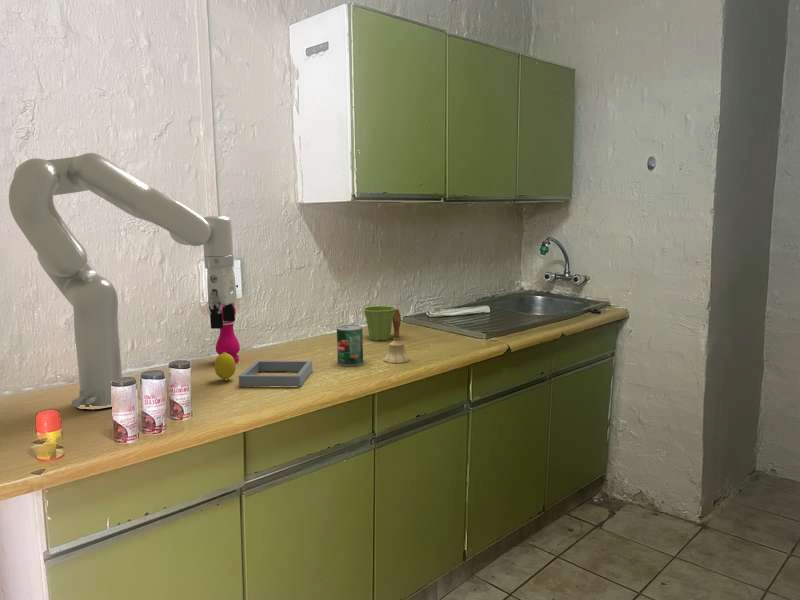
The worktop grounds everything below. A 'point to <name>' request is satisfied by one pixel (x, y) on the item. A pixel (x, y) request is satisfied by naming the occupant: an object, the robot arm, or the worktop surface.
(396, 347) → the hand bell
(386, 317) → the plant pot
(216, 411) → the worktop surface
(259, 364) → the box
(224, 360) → the lemon
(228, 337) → the pepper mill
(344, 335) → the canned tomato
